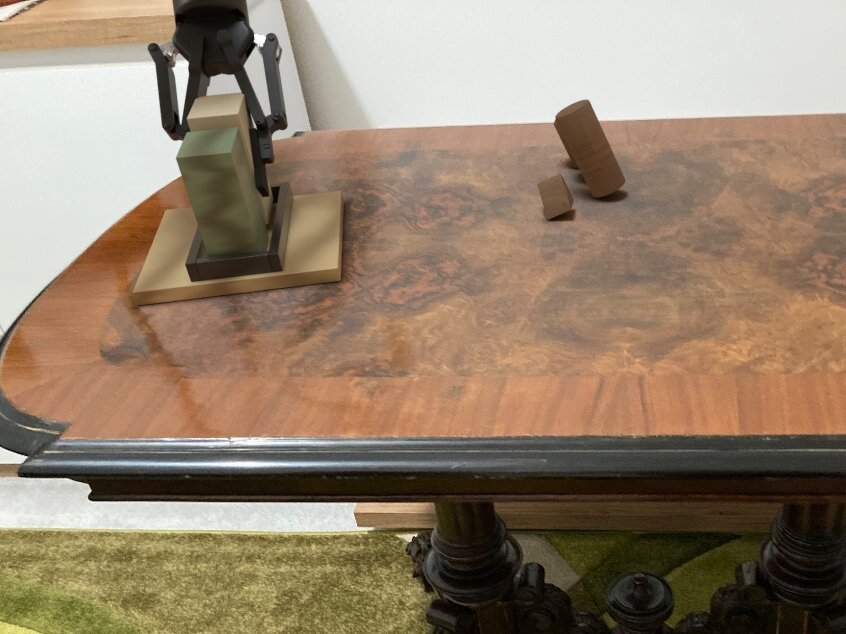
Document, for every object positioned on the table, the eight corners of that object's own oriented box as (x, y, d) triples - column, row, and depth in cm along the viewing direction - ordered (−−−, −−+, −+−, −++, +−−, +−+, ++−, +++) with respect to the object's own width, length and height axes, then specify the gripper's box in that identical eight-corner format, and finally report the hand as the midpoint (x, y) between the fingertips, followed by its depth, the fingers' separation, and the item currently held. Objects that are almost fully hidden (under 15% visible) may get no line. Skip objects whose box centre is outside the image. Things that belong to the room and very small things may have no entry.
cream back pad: (221, 229, 100) (186, 118, 92) (228, 203, 105) (196, 96, 97) (268, 224, 100) (237, 113, 93) (273, 198, 106) (244, 91, 98)
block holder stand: (137, 305, 92) (85, 175, 83) (169, 221, 107) (128, 104, 99) (341, 280, 94) (310, 152, 86) (344, 202, 110) (318, 86, 101)
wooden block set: (569, 177, 119) (533, 103, 114) (630, 150, 117) (596, 73, 111) (554, 233, 105) (511, 151, 100) (623, 204, 102) (583, 118, 97)
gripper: (300, 3, 105) (328, 199, 102) (134, 17, 102) (159, 217, 100) (286, -39, 97) (315, 171, 95) (106, -25, 95) (132, 190, 93)
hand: (235, 194), depth 97 cm, fingers closed on cream back pad, 5 cm apart
